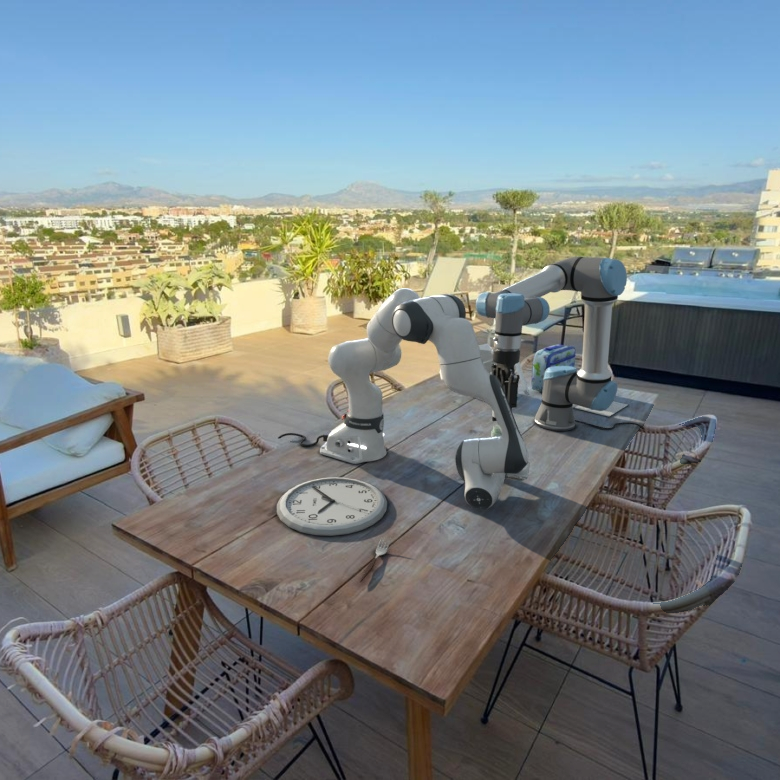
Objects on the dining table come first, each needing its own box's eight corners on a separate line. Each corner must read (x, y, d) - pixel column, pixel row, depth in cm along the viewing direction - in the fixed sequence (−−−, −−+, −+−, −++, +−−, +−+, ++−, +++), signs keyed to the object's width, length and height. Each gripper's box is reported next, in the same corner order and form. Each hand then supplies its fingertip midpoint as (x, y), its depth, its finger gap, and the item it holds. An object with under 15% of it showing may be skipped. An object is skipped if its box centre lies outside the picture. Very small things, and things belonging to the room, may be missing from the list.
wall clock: (392, 527, 129) (268, 531, 127) (391, 533, 130) (269, 537, 127) (383, 473, 158) (282, 475, 155) (383, 478, 158) (282, 480, 156)
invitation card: (608, 416, 214) (573, 407, 224) (608, 416, 214) (573, 408, 224) (628, 404, 229) (594, 396, 238) (628, 405, 229) (594, 397, 238)
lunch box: (547, 397, 237) (552, 352, 231) (526, 391, 245) (531, 348, 238) (574, 386, 255) (580, 344, 249) (554, 381, 262) (559, 340, 256)
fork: (354, 582, 112) (354, 574, 111) (381, 542, 126) (381, 535, 125) (365, 585, 111) (365, 577, 110) (391, 545, 125) (391, 537, 125)
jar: (505, 473, 163) (509, 425, 158) (502, 480, 158) (507, 431, 154) (489, 471, 164) (493, 423, 160) (486, 478, 160) (490, 428, 155)
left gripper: (528, 469, 143) (533, 450, 156) (455, 457, 150) (466, 440, 163) (526, 490, 145) (531, 470, 158) (454, 477, 152) (465, 458, 165)
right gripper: (481, 342, 157) (477, 414, 164) (509, 357, 140) (502, 437, 147) (504, 341, 159) (499, 412, 166) (534, 355, 142) (527, 434, 149)
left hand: (497, 454), depth 160 cm, fingers closed on jar, 5 cm apart
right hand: (501, 424), depth 157 cm, fingers closed on lid, 5 cm apart
